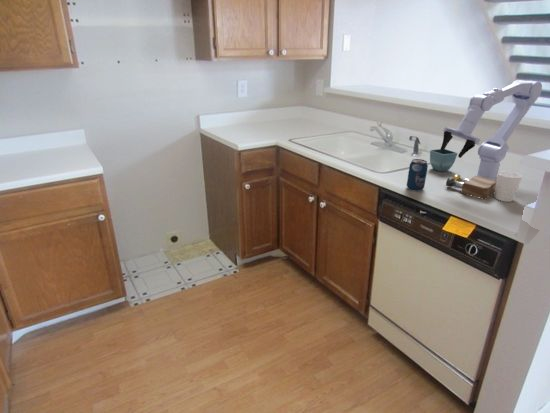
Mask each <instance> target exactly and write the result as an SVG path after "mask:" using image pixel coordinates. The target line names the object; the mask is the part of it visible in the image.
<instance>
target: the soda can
mask: <svg viewBox="0 0 550 413" xmlns="http://www.w3.org/2000/svg"><path fill="white" fill-rule="evenodd" d="M428 166H429V165H428V161H427V160H425V159H420V158H415V159H414V158H413V159H412V160H411V162H410V164H409V167H408V172H407V173H408V174H407V181H406V187H407V189H408V190H409V189H410V191H412V192H421V191H423V189H425V185H426V180H427V172H428Z"/></svg>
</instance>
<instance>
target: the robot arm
mask: <svg viewBox="0 0 550 413" xmlns="http://www.w3.org/2000/svg"><path fill="white" fill-rule="evenodd" d="M542 90H543V85H542V83H541V82H540V81H533V80H523V79H516V80H513V81H512V82H511V84H509V85H507V86H505V87H503V88H498V87H493V88H492V90H490V91H487V92H484V93H483V94H475V95H474V96H473V97H471V98H470V100H469V105H468V107H467V111H466V113H465V115H464V116H463V118H462V120H461V122H460V123H459V124H458V126H457V127H456V129H455V128H452V127H448V126H445V127H444V128H443V138H442V139H443V140H442V144H441V147H440V149H441V150H442V151H444V149H446V148H447V146H448V144H449V143H450V141H451V140H452V139H453V138H454V137H453V136H455V137H456V138H460V139H464V140H466V141H465V143H464V145H463V147H462V148H461V150H460V151H459V153H458V154H457V157H458V158H460V159H461V158H462V157H463V156H464V155H465V154H466V153H467V152H468V151H470V150H472V149H474V148H475V147H476V145H479V144H480V142H481V138H478V137H476V136H474V135H472V133H473V132H474V129H476V127H477V125H478V123H479V122H480V120H481V118H482V117H483V115H484V114H485V112H489V111H490V110H491V109H492V107H494V106H495V105H497V104H500V103H502V102H504V100H505V98H507V97H510V96H511V97H512V102H513V103H515V106H514V107H513V108H512V110H511V111H510V113H509V114H508V115H507V117H506V119H505V120H504V121H503V123H502V124H501V126H500V127H499V129H498V130H497V132H496V133H495V134H494V136H492V137H488V138H486V139H485V140H484V142H483V143H481V144H480V145H479V146H478V149H477V155H478V156H479V159H480V161H479V165H478V170H477V173H476V176H480V177H484V178H488V179H493V180H497V176H498V172H499V169H500V166H501V164H500V163H501V162H502V160H504V158H505V157H506V155H507V152H508V151H509V149H510V147H509V145H508V142H507V141H508V140H509V139H510V138H511V136H512V135H513V133H514V131H515V130H516V129H517V127H518V126H519V124H520V123H521V121H522V120H523V119H524V117H525V116H526V115H527V113H528V112H529V110H530V109H531V107H532V105H534V104H535V103H536V102H537V100H538V98H539V97H540V96H541V94H542ZM522 118H523V119H522Z"/></svg>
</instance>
